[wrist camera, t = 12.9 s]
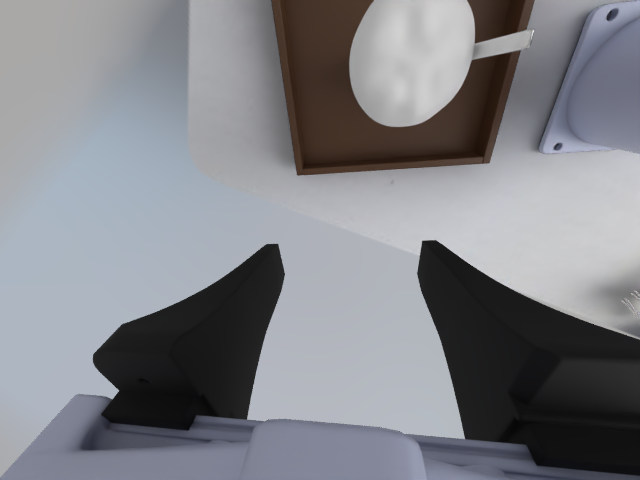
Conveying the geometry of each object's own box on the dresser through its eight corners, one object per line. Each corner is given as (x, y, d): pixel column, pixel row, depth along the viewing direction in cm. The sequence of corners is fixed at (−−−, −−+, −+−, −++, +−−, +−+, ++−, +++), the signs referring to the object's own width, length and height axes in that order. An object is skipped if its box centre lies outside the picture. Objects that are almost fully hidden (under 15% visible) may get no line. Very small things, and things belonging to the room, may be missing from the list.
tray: (536, -85, 12) (566, -114, 10) (476, 156, 18) (489, 163, 17) (273, -34, 14) (263, -51, 12) (301, 168, 20) (297, 175, 19)
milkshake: (427, 107, 16) (508, 124, 8) (350, 116, 17) (351, 139, 9) (437, 21, 14) (566, -83, 6) (348, 36, 15) (345, -37, 6)
